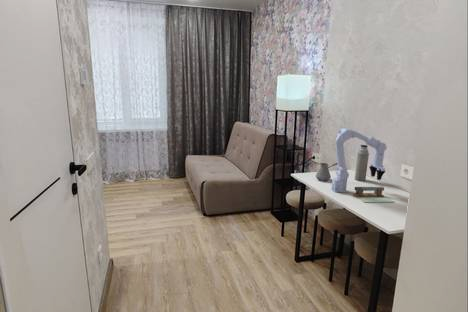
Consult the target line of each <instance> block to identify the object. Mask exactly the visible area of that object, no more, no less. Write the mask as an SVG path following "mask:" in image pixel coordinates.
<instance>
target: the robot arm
mask: <svg viewBox="0 0 468 312" xmlns="http://www.w3.org/2000/svg"><path fill="white" fill-rule="evenodd" d="M352 138H353V139H354V138H357V139H359V140H362V141H364V142H365V145H367V146H369V147H371V148H373V149H375V150H374V157H373V161H372V162H370V166H368V168H369V170H370V175H371V177H375V176H376V180H377V181H381V180H382V179H383V178H382V177H383V175H384V174H385V173H386V169H385V167H384V164H383V163H384V157H385V151H386V150H387V149H388V147H387V144H386V143H385V142H383V141H381V140H380V139H376V138H375V137H374V136H366V135H364V134H362V133H360V132H359V131H356V130H353V129H348V128H347V127H342V128H341V129H340V130H338V133H337V135H336V139H335V141H334V143H335V155H336V163H338V164H337V165H336V172H335V173H336V177H335V178H332V179H331V180H332V181H331V187H330V189H331V190H332V191H333V192H334V193H349V191H348V190H347V187H348V186H347V185H348V178H349V177H350V174H349V172H348V168H347V166H346V156H345V148H344V143H346V141H348V140H350V139H352Z"/></svg>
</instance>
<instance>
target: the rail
mask: <svg viewBox="0 0 468 312" xmlns="http://www.w3.org/2000/svg"><path fill="white" fill-rule="evenodd" d="M359 189H363V192H366V191H368V192H371V191H372V192H374V191H378V189H382V192H385V187H383V186H354V190H355V192H356V191H359Z"/></svg>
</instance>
